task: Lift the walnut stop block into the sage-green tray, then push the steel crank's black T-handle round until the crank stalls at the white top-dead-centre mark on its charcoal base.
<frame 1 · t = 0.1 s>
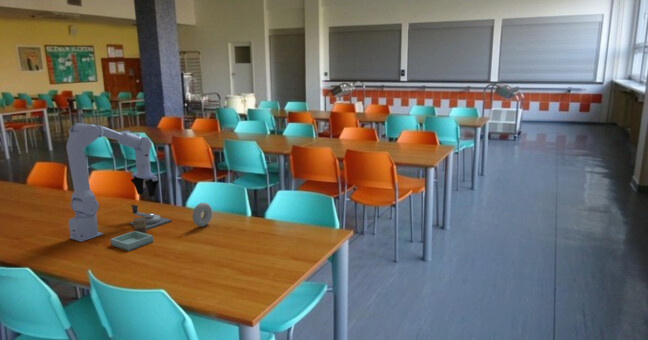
hand: (146, 195, 210), 10 cm above the table, tool pointing down, fingers open, 7 cm apart
crank base: (150, 223, 204), on the table
crank: (142, 211, 204), point 5 cm above the table, hinge at -50.0°
tray: (132, 243, 181), on the table
stop block: (141, 233, 192), on the table
donut: (203, 226, 200), on the table
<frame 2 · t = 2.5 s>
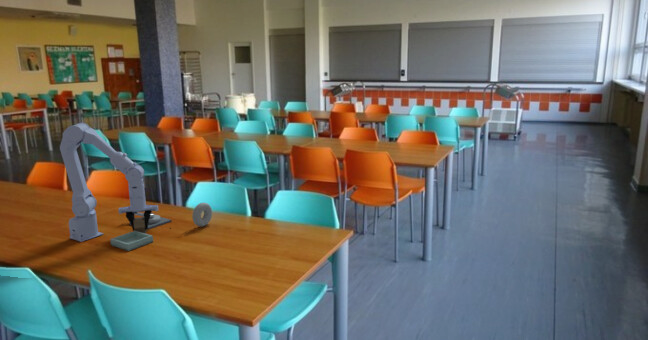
hand: (140, 229, 192), 2 cm above the table, tool pointing down, fingers closed on stop block, 4 cm apart
stop block: (141, 233, 192), on the table, touching gripper
everything else where it was.
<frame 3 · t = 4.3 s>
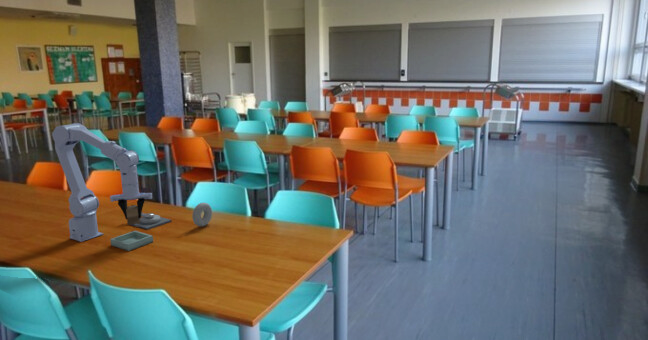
hand: (133, 218, 183), 9 cm above the table, tool pointing down, fingers closed on stop block, 4 cm apart
stop block: (134, 222, 184), point 7 cm above the table, touching gripper
everything else where it was.
when the fingers open (4 cm above the table, at t = 6.0 s): stop block drops 1 cm, resting on tray.
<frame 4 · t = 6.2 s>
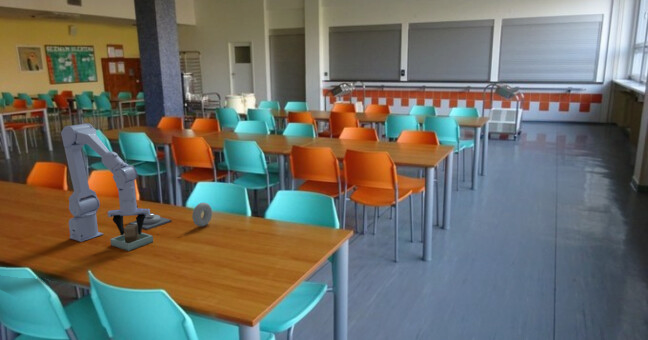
hand: (131, 234, 180), 4 cm above the table, tool pointing down, fingers open, 6 cm apart
stop block: (132, 241, 181), point 1 cm above the table, touching tray
everything else where it was.
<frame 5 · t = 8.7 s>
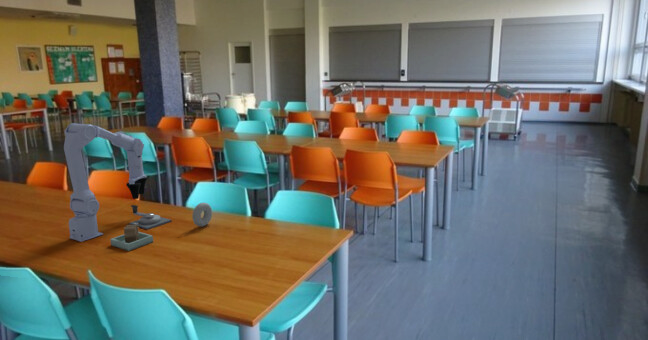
hand: (138, 196, 210), 9 cm above the table, tool pointing down, fingers open, 7 cm apart
nothing on the table moved.
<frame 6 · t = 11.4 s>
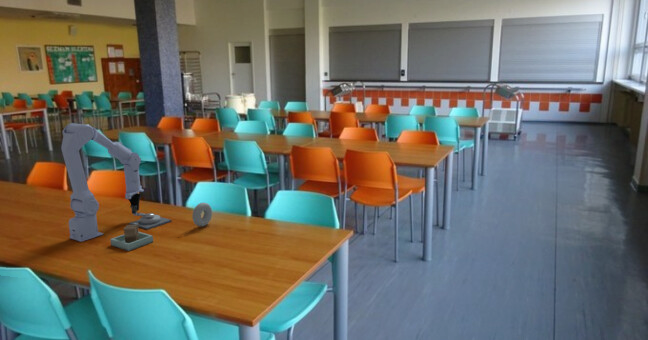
hand: (135, 210, 207), 4 cm above the table, tool pointing down, fingers closed, pressing on crank
crank: (142, 211, 204), point 5 cm above the table, hinge at -46.4°, touching gripper
everything else where it was.
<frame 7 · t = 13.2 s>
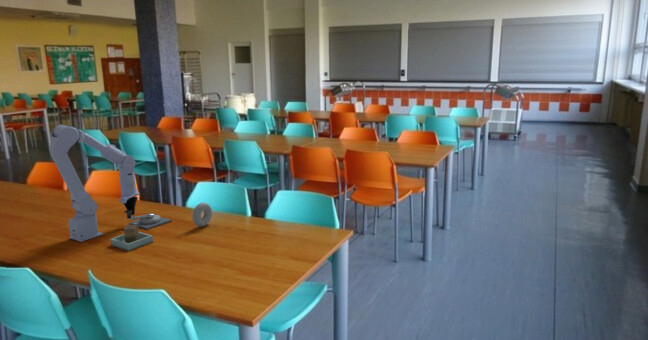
hand: (131, 214, 201), 4 cm above the table, tool pointing down, fingers closed
crank: (140, 213, 201), point 5 cm above the table, hinge at 0.9°, touching gripper
everything else where it was.
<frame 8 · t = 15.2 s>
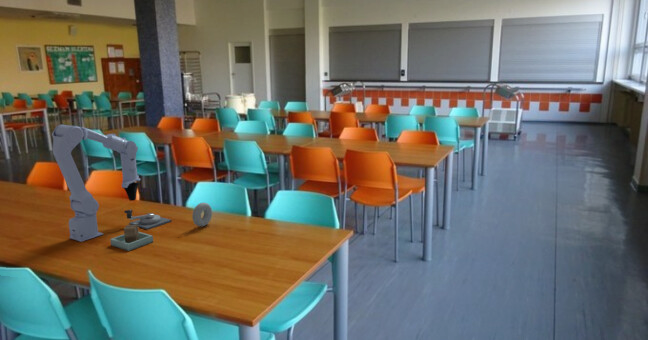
hand: (132, 200, 204), 9 cm above the table, tool pointing down, fingers closed
crank: (140, 213, 201), point 5 cm above the table, hinge at 0.9°
everything else where it was.
at the end: stop block 0.3 cm off-centre on the tray, point 0.6 cm above the tray's base; stop block tilted 0°; crank at +1° (first picture: -50°) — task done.
